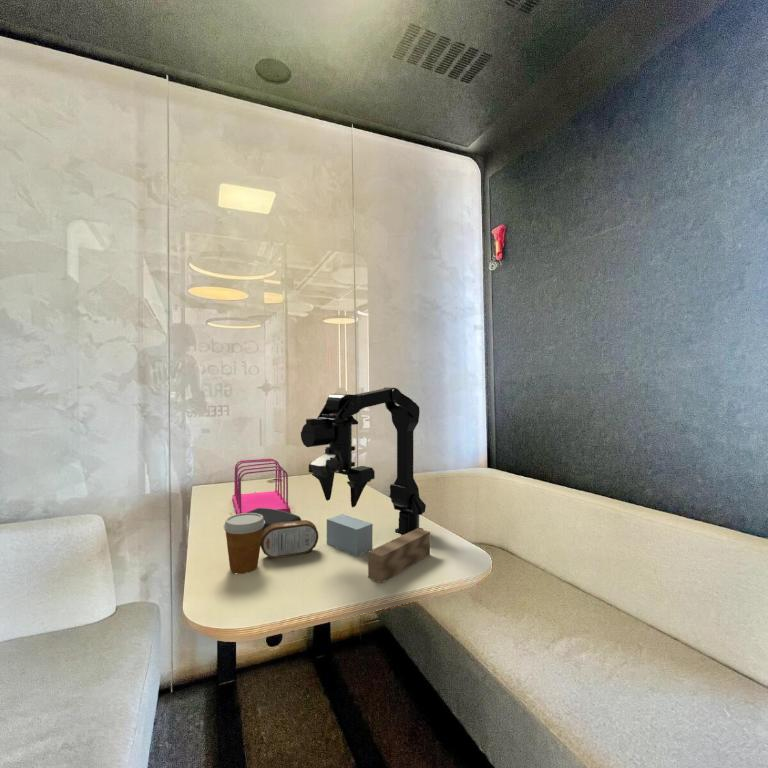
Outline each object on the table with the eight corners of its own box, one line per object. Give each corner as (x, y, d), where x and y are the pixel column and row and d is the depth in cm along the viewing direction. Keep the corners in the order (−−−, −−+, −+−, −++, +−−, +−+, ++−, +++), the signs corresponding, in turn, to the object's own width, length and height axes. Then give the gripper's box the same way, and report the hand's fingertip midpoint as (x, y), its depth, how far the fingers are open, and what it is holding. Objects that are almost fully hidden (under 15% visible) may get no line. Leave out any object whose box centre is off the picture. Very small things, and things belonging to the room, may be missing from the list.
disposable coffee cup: (216, 567, 96) (217, 518, 96) (253, 556, 103) (254, 509, 103) (233, 581, 89) (233, 528, 89) (271, 568, 96) (272, 518, 96)
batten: (417, 550, 107) (417, 528, 107) (429, 554, 105) (430, 531, 105) (368, 577, 92) (368, 551, 92) (381, 583, 89) (381, 556, 89)
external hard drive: (259, 517, 134) (260, 505, 134) (305, 527, 126) (305, 514, 126) (228, 529, 123) (228, 516, 123) (276, 541, 114) (276, 527, 114)
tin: (316, 548, 108) (317, 517, 108) (319, 552, 105) (319, 520, 105) (259, 556, 103) (259, 524, 103) (260, 561, 100) (260, 528, 100)
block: (342, 538, 116) (342, 514, 116) (372, 549, 108) (372, 523, 108) (326, 544, 111) (326, 519, 111) (356, 556, 103) (356, 529, 103)
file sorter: (237, 519, 131) (238, 472, 131) (232, 499, 154) (232, 459, 154) (290, 512, 138) (291, 467, 138) (277, 494, 161) (278, 456, 161)
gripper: (292, 443, 101) (292, 503, 101) (344, 450, 90) (344, 519, 90) (324, 438, 110) (324, 494, 110) (376, 445, 98) (375, 507, 98)
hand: (340, 503), depth 102 cm, fingers open, 9 cm apart
